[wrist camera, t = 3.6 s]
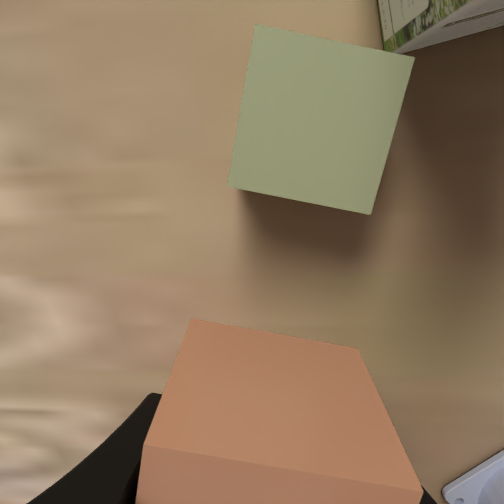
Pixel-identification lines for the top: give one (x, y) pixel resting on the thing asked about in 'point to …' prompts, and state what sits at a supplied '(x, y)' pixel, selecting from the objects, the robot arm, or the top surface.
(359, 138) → the olive block
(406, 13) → the syrup box
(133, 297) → the top surface
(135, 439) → the robot arm
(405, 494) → the terracotta block
